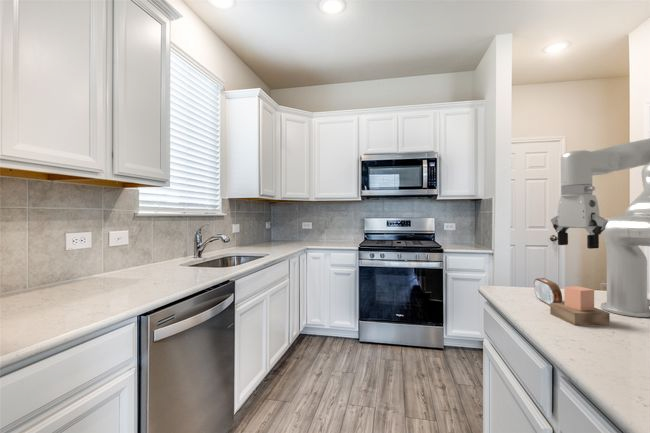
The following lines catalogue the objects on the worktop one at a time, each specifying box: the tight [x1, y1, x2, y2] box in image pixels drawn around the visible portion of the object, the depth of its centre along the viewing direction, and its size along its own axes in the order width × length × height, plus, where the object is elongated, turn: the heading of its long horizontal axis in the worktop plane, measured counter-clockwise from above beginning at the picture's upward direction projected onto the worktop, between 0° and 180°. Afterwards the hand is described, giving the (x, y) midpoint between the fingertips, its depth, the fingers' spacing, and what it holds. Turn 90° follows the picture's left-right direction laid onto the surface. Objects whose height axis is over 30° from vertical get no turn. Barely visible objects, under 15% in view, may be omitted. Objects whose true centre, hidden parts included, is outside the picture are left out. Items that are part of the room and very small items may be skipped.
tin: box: [533, 277, 563, 307], centre depth 111 cm, size 15×3×8 cm, turn 168°
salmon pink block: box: [563, 285, 595, 311], centre depth 94 cm, size 5×5×6 cm
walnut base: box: [549, 302, 611, 327], centre depth 94 cm, size 10×10×4 cm
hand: (577, 246), depth 95 cm, fingers open, 9 cm apart
